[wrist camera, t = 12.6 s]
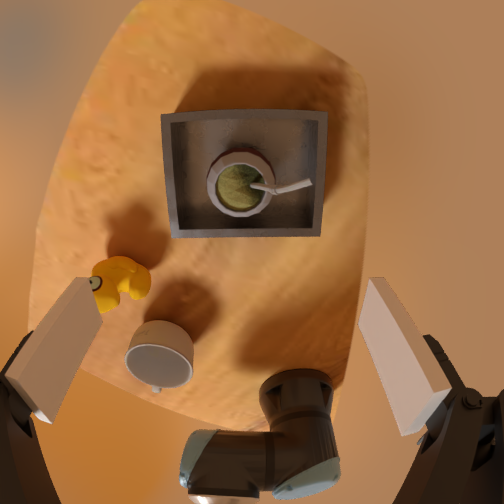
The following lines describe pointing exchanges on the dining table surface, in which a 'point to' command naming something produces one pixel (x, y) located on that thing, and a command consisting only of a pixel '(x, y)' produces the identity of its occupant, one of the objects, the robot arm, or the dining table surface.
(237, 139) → the tray
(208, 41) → the dining table surface
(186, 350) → the teacup
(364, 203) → the dining table surface
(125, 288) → the duckling
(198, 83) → the dining table surface
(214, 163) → the mate gourd
